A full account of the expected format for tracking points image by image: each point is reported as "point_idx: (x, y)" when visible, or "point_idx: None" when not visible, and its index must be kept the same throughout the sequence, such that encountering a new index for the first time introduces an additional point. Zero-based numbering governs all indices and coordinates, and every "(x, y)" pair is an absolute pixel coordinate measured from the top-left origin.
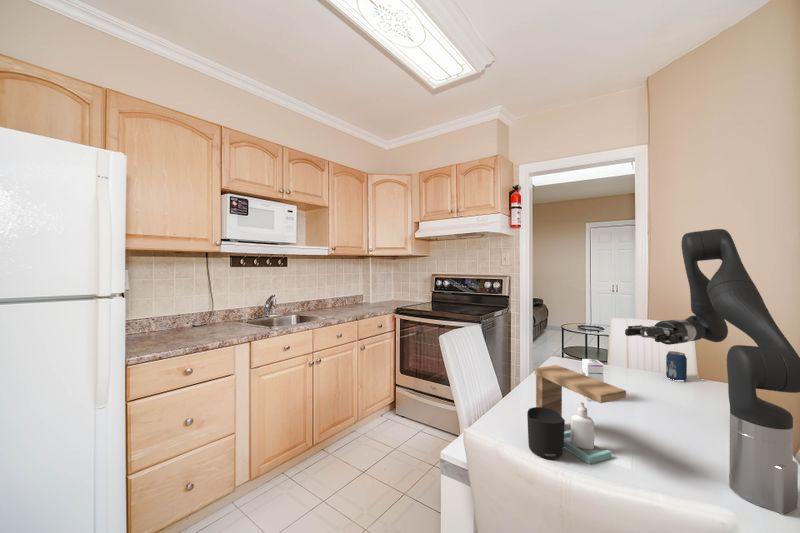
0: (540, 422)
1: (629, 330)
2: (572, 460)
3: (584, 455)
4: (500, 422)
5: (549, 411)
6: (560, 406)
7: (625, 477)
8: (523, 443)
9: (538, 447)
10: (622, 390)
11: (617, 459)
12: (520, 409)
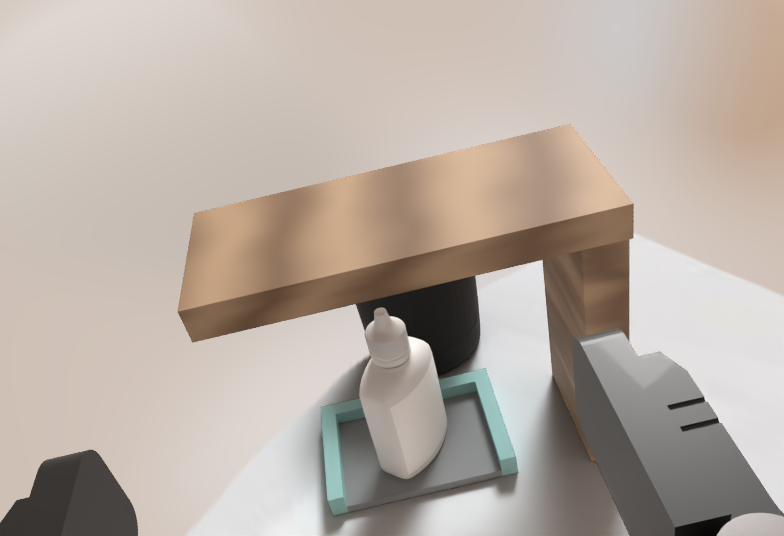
0: None
1: (589, 382)
2: (358, 386)
3: (341, 404)
4: (629, 276)
5: None
6: None
7: (235, 484)
8: None
9: None
10: (186, 299)
11: (319, 531)
12: (780, 369)
